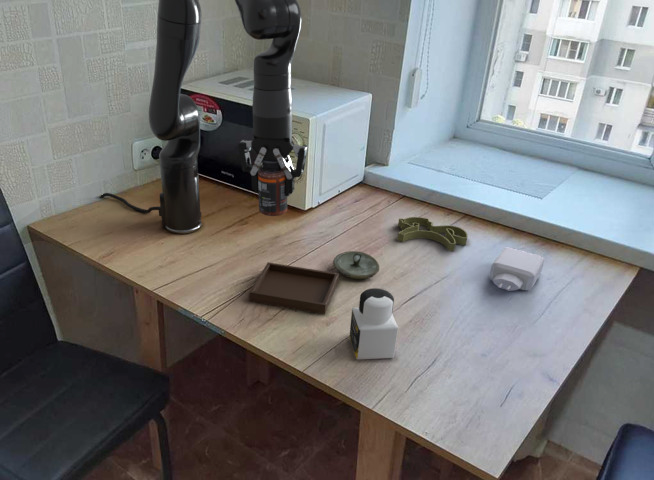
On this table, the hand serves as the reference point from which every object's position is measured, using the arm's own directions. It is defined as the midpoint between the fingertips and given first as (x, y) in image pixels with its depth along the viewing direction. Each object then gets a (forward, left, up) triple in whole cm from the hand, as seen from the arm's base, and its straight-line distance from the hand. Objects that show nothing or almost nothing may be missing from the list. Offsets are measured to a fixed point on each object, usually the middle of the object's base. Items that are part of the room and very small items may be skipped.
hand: (272, 192), depth 125 cm
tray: (+6, -3, -21) cm, 22 cm away
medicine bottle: (+25, -18, -21) cm, 37 cm away
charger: (+51, +15, -21) cm, 57 cm away
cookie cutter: (+32, +33, -21) cm, 51 cm away
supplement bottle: (0, 0, -4) cm, 4 cm away
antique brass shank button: (+17, +10, -21) cm, 29 cm away
